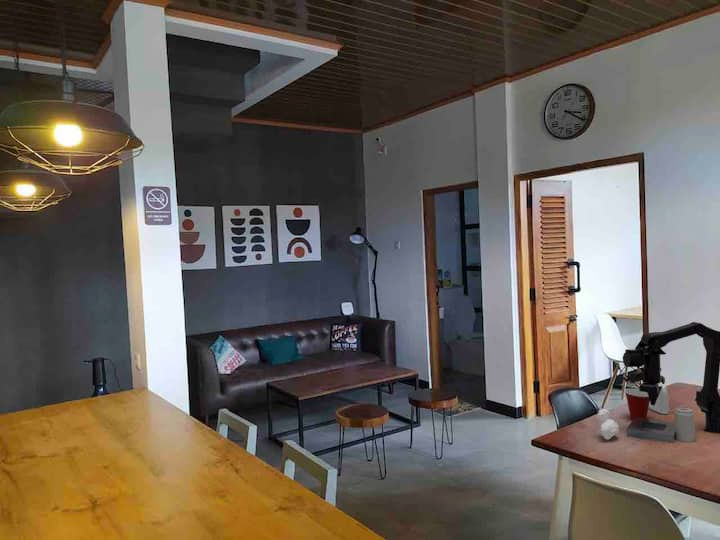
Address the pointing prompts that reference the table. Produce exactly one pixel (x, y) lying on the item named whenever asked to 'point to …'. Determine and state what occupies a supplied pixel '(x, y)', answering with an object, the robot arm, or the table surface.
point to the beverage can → (684, 425)
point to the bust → (607, 424)
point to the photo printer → (661, 401)
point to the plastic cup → (637, 403)
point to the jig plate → (652, 430)
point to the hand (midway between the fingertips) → (652, 405)
